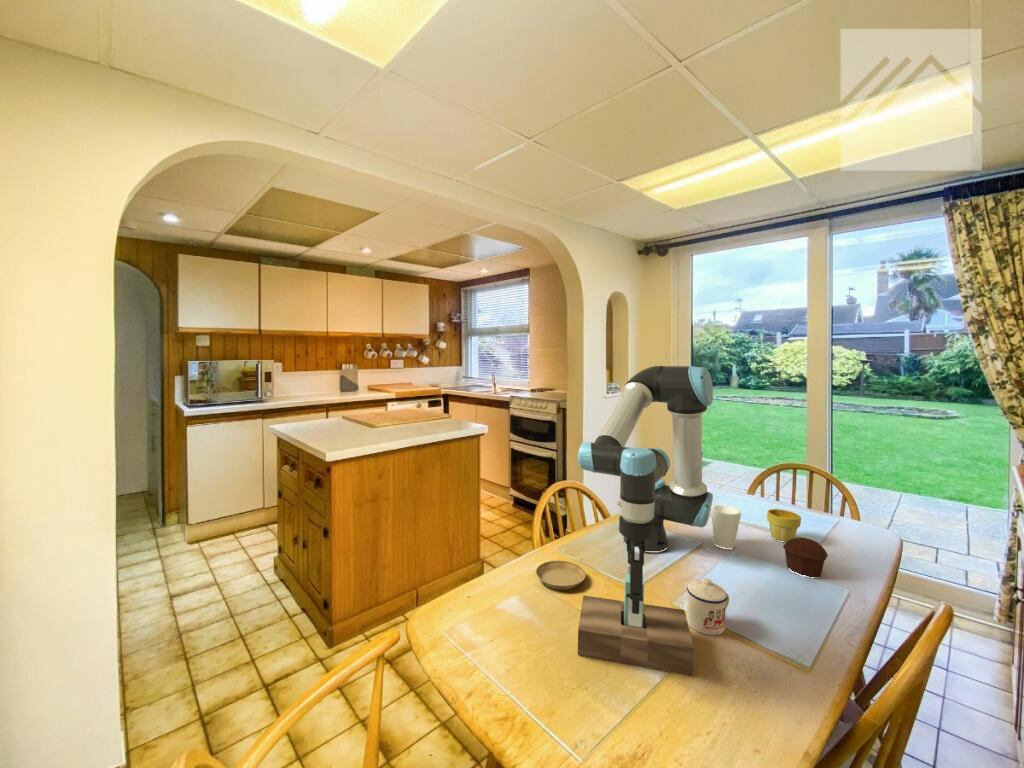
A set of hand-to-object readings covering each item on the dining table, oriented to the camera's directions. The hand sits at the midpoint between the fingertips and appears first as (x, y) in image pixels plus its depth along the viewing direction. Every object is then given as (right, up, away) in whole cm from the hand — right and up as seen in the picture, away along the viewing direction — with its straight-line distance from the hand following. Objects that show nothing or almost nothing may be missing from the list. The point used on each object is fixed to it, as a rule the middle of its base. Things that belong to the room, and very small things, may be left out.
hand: (633, 607), depth 98 cm
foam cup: (+47, -6, +53) cm, 71 cm away
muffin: (+63, -7, +35) cm, 73 cm away
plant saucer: (-14, -7, +29) cm, 33 cm away
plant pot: (+71, -6, +58) cm, 92 cm away
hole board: (0, -9, +1) cm, 9 cm away
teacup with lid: (+22, -9, +9) cm, 25 cm away
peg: (0, -7, +1) cm, 7 cm away
